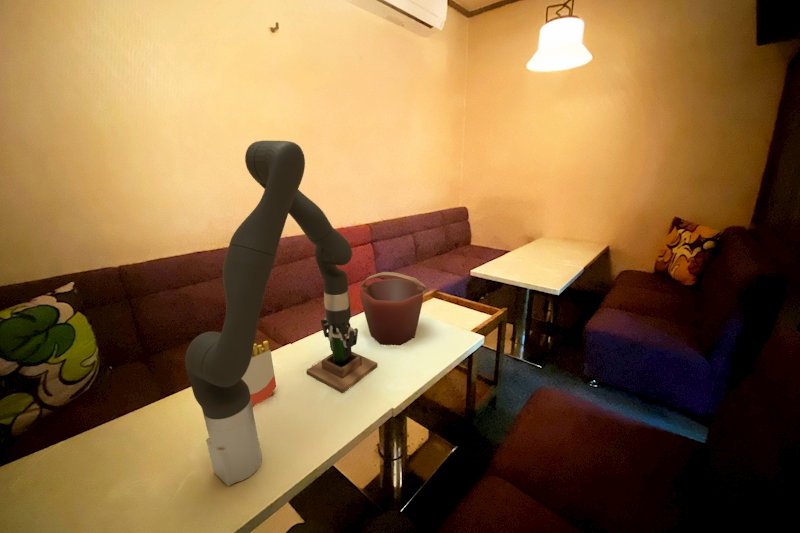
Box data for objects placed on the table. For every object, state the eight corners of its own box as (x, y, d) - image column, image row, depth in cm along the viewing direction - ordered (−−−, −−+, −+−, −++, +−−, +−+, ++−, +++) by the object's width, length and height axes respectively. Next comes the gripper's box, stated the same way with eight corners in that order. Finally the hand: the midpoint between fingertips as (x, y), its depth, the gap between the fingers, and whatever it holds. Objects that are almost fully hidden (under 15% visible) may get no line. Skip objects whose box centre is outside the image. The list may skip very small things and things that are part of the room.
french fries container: (233, 404, 99) (222, 349, 93) (270, 386, 106) (261, 334, 100) (240, 412, 96) (228, 356, 90) (277, 393, 103) (269, 340, 97)
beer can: (337, 370, 109) (334, 336, 105) (330, 362, 113) (327, 329, 109) (353, 365, 112) (351, 331, 108) (346, 357, 116) (343, 324, 112)
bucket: (434, 330, 137) (436, 270, 128) (404, 359, 119) (404, 291, 111) (383, 315, 149) (381, 259, 141) (349, 339, 132) (345, 276, 123)
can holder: (342, 393, 103) (341, 380, 101) (306, 374, 112) (305, 362, 110) (377, 366, 115) (377, 354, 114) (342, 351, 124) (341, 339, 122)
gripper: (311, 303, 107) (316, 351, 112) (345, 315, 99) (349, 366, 104) (329, 294, 112) (333, 341, 118) (363, 305, 104) (366, 354, 110)
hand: (341, 352), depth 111 cm, fingers closed on beer can, 5 cm apart
